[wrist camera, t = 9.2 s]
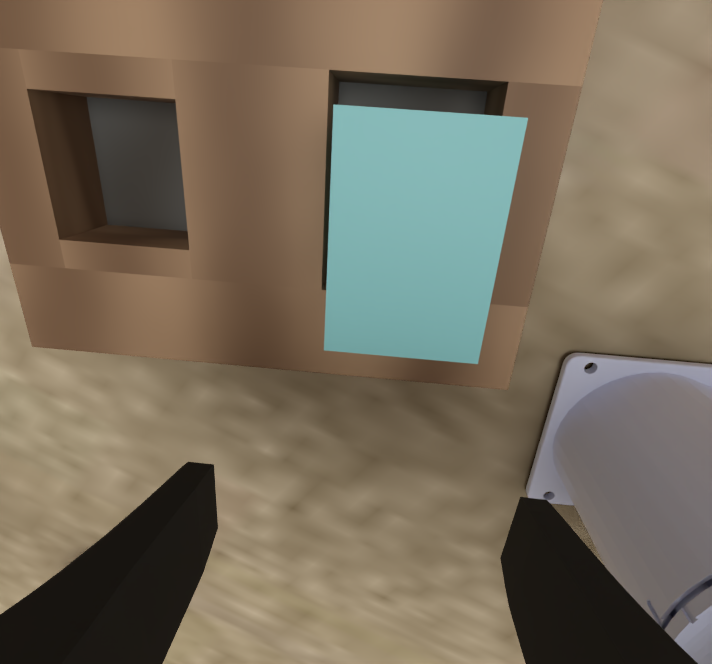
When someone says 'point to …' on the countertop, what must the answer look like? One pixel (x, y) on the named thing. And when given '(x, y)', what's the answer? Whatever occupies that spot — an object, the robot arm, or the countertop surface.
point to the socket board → (252, 163)
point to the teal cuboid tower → (416, 229)
